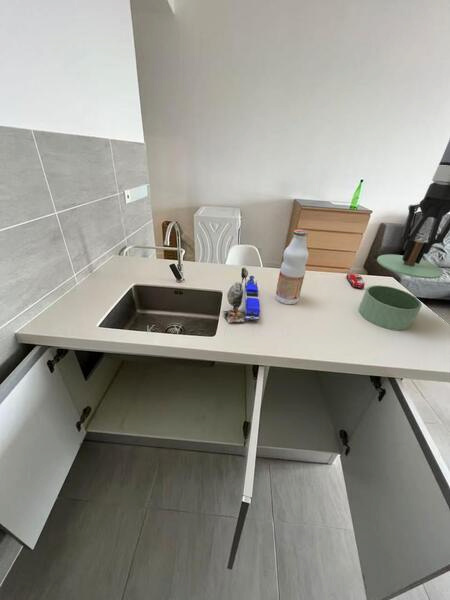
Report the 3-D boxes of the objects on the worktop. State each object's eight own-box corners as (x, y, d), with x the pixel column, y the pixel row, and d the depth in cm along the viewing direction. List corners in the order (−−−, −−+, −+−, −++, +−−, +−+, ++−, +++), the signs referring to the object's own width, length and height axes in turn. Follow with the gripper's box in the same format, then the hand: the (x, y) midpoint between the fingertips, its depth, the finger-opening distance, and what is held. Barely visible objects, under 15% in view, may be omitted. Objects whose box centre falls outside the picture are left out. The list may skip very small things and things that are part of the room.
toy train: (255, 288, 106) (257, 272, 102) (258, 323, 85) (261, 304, 81) (243, 288, 106) (245, 271, 102) (244, 322, 85) (246, 303, 81)
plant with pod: (244, 307, 93) (249, 258, 83) (245, 325, 83) (252, 272, 73) (223, 306, 93) (225, 257, 82) (222, 324, 83) (225, 271, 73)
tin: (407, 311, 97) (416, 292, 92) (414, 336, 83) (426, 315, 78) (358, 299, 103) (365, 281, 98) (358, 320, 89) (366, 301, 85)
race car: (344, 276, 122) (347, 269, 120) (356, 277, 121) (358, 270, 119) (351, 288, 111) (354, 280, 109) (364, 290, 110) (367, 282, 108)
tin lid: (434, 264, 86) (447, 238, 81) (448, 285, 72) (466, 256, 67) (375, 253, 93) (384, 229, 88) (377, 271, 78) (388, 243, 73)
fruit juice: (282, 306, 95) (296, 235, 80) (271, 294, 103) (282, 227, 88) (302, 303, 98) (320, 234, 83) (290, 292, 105) (304, 227, 91)
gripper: (415, 182, 69) (383, 259, 81) (488, 187, 63) (442, 270, 75) (411, 180, 74) (382, 253, 87) (478, 185, 69) (436, 262, 81)
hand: (410, 260), depth 81 cm, fingers closed on tin lid, 3 cm apart
